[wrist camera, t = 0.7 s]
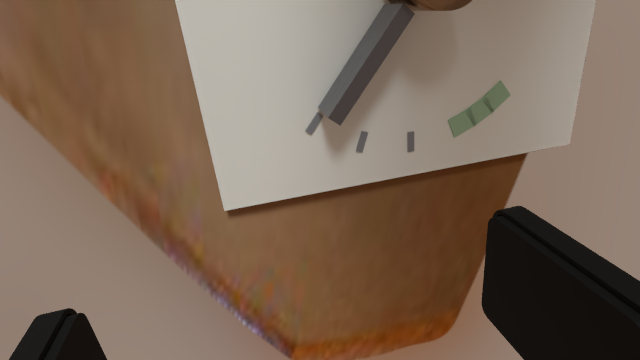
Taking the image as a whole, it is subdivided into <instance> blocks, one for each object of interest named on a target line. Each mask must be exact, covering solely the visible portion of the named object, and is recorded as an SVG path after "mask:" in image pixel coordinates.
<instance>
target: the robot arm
mask: <svg viewBox="0 0 640 360" xmlns="http://www.w3.org/2000/svg"><path fill="white" fill-rule="evenodd" d="M484 269H485V270H484V281H483V292H482V307H483V311H484V313H485V315H486V316H487V318H488V319H489V320H490V321H491V322H492V323H493V325H494V326H495V327H496V328H497V329H498V330H499V331H500V333H501V334H502V335H503V336H504V337H505V338H506V340H507V341H508V342H509V343H510V344H511V345H512V346H513V348H514V349H515V350H516V351H517V352H518V353H519V354H520V356H521V357H522V358H523V359H524V360H640V281H639V280H637V279H635V278H634V277H632V276H631V275H629V274H628V273H626V272H625V271H623V270H621V269H620V268H618V267H617V266H615V265H614V264H612V263H610V262H609V261H607V260H606V259H604V258H603V257H601V256H599V255H598V254H596V253H595V252H593V251H592V250H590V249H588V248H587V247H585V246H584V245H582V244H581V243H579V242H577V241H576V240H574V239H573V238H571V237H570V236H568V235H567V234H565V233H563V232H562V231H560V230H559V229H557V228H556V227H554V226H552V225H551V224H549V223H548V222H546V221H545V220H543V219H541V218H540V217H538V216H537V215H535V214H534V213H532V212H530V211H529V210H527V209H526V208H524V207H522V206H515V207H511V208H506V209H502V210H498V211H496V212H495V213H494V215H493V218H491V219H490V220H489V222H488V231H487V244H486V256H485V268H484ZM9 360H107V359H106V356H105V354H104V352H103V350H102V348H101V346H100V344H99V342H98V340H97V338H96V336H95V333H94V331H93V329H92V327H91V325H90V323H89V321H88V319H87V317H86V316H85V314H83V313H78V314H77V313H76V311H75V310H73V309H69V308H68V309H64V310H60V311H55V312H51V313H46V314H42V315H39V316H37V317H36V318H35V319H34V321H33V322H32V324H31V325H30V327H29V329H28V330H27V332H26V333H25V335H24V337H23V338H22V340H21V341H20V343H19V344H18V346H17V348H16V349H15V351H14V352H13V354H12V356H11V357H10V359H9Z"/></svg>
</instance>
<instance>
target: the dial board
mask: <svg viewBox="0 0 640 360" xmlns="http://www.w3.org/2000/svg"><path fill="white" fill-rule="evenodd" d="M175 2H176V7H177V11H178V15H179V19H180V24H181V28H182V32H183V37H184V41H185V45H186V49H187V54H188V58H189V62H190V66H191V71H192V75H193V79H194V83H195V88H196V92H197V96H198V100H199V105H200V109H201V113H202V117H203V122H204V126H205V130H206V135H207V139H208V143H209V147H210V152H211V156H212V160H213V164H214V169H215V173H216V177H217V181H218V186H219V190H220V194H221V198H222V203H223V207H224V211H227V210H232V209H237V208H243V207H248V206H253V205H258V204H263V203H268V202H274V201H279V200H284V199H289V198H294V197H300V196H305V195H310V194H315V193H320V192H326V191H331V190H336V189H341V188H346V187H351V186H357V185H362V184H367V183H372V182H377V181H383V180H388V179H393V178H398V177H403V176H408V175H414V174H419V173H424V172H429V171H434V170H440V169H445V168H450V167H455V166H460V165H466V164H471V163H476V162H481V161H486V160H491V159H497V158H502V157H507V156H512V155H517V154H523V153H528V152H532V151H538V150H543V149H548V148H554V147H559V146H564V145H569V144H570V140H571V135H572V129H573V123H574V118H575V113H576V107H577V102H578V97H579V91H580V85H581V80H582V75H583V69H584V64H585V58H586V53H587V47H588V42H589V37H590V32H591V26H592V21H593V15H594V10H595V4H596V0H472V1H471V2H470V3H469V4H467V5H466V6H464V7H462V8H460V9H457V10H452V11H413V12H414V13H415V15H414V16H413V18H412V19H411V21H410V22H409V24H408V25H407V27H406V28H405V30H404V31H403V33H402V34H401V36H400V37H399V39H398V40H397V42H396V43H395V45H394V46H393V48H392V49H391V51H390V52H389V54H388V55H387V57H386V58H385V60H384V61H383V63H382V64H381V66H380V67H379V69H378V70H377V72H376V73H375V75H374V76H373V78H372V79H371V81H370V82H369V84H368V85H367V87H366V88H365V90H364V91H363V93H362V94H361V96H360V97H359V99H358V100H357V102H356V103H355V105H354V106H353V108H352V109H351V111H350V112H349V114H348V115H347V117H346V118H345V120H344V121H343V123H342V124H341V126H340V125H338V124H337V123H335V122H334V121H332V120H330V119H329V118H328V117H327V116H326V115H325V114H324V113H323V112H322V111H321V110H320V109H319V108H318V106H319V105H320V103H321V102H322V100H323V99H324V97H325V95H326V94H327V92H328V91H329V89H330V88H331V86H332V85H333V83H334V81H335V80H336V78H337V77H338V75H339V74H340V72H341V71H342V69H343V68H344V66H345V64H346V63H347V61H348V60H349V58H350V57H351V55H352V54H353V52H354V50H355V49H356V47H357V46H358V44H359V43H360V41H361V40H362V38H363V36H364V35H365V33H366V32H367V30H368V29H369V27H370V26H371V24H372V22H373V21H374V19H375V18H376V16H377V15H378V13H379V12H380V10H381V8H382V7H383V5H384V4H391V3H390V2H389V1H388V0H175Z"/></svg>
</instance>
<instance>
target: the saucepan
mask: <svg viewBox="0 0 640 360" xmlns="http://www.w3.org/2000/svg"><path fill="white" fill-rule="evenodd" d="M388 1H389V2H390V3H391V4H384V5H383V7H382V8H381V10H380V12H379V13H378V15H377V16H376V18H375V19H374V21H373V22H372V24H371V26H370V27H369V29H368V30H367V32H366V33H365V35H364V36H363V38H362V40H361V41H360V43H359V44H358V46H357V47H356V49H355V50H354V52H353V54H352V55H351V57H350V58H349V60H348V61H347V63H346V64H345V66H344V68H343V69H342V71H341V72H340V74H339V75H338V77H337V78H336V80H335V81H334V83H333V85H332V86H331V88H330V89H329V91H328V92H327V94H326V95H325V97H324V99H323V100H322V102H321V103H320V105H319V106H318V108H319V109H320V110H321V111H322V112H323V113H324V114H325V115H326V116H327V117H328V118H329V119H330V120H332V121H334V122H335V123H337V124H338V125H340V126H341V124H342V123H343V121H344V120H345V118H346V117H347V115H348V114H349V112H350V111H351V109H352V108H353V106H354V105H355V103H356V102H357V100H358V99H359V97H360V96H361V94H362V93H363V91H364V90H365V88H366V87H367V85H368V84H369V82H370V81H371V79H372V78H373V76H374V75H375V73H376V72H377V70H378V69H379V67H380V66H381V64H382V63H383V61H384V60H385V58H386V57H387V55H388V54H389V52H390V51H391V49H392V48H393V46H394V45H395V43H396V42H397V40H398V39H399V37H400V36H401V34H402V33H403V31H404V30H405V28H406V27H407V25H408V24H409V22H410V21H411V19H412V18H413V16H414V15H415V13H414V12H413V11H452V10H457V9H460V8H462V7H464V6H466V5H467V4H469V3H470V2H471V1H472V0H388Z"/></svg>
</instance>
